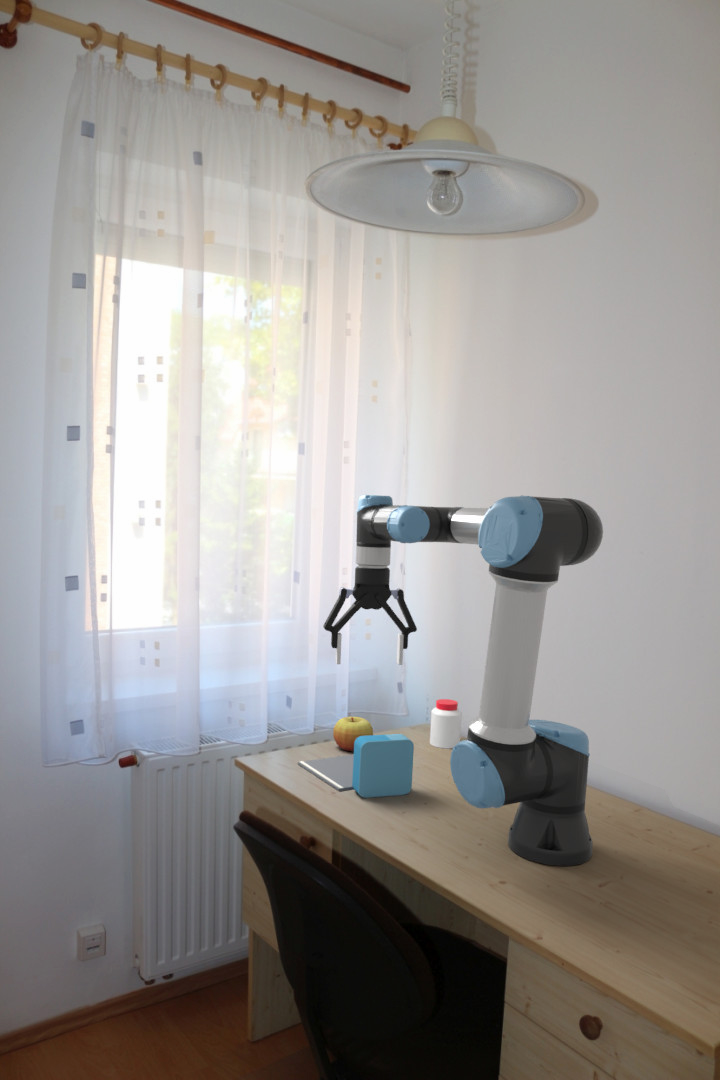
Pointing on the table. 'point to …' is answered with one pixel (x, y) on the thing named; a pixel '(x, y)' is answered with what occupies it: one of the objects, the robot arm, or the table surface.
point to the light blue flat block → (382, 765)
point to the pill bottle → (445, 724)
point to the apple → (350, 731)
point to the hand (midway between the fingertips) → (368, 663)
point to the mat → (332, 770)
